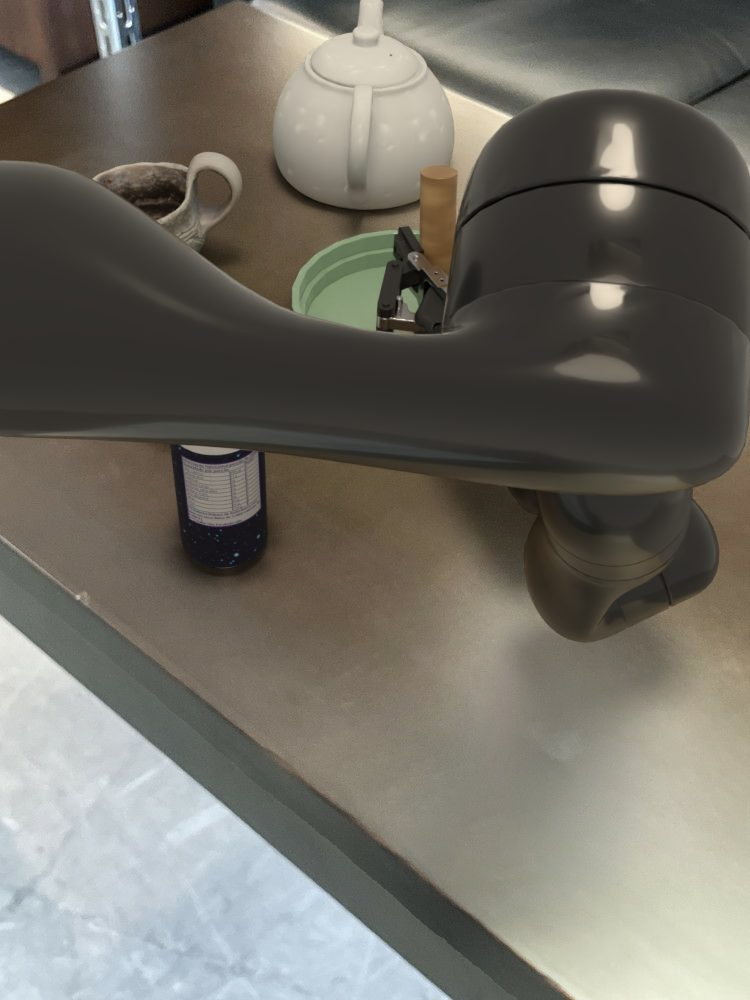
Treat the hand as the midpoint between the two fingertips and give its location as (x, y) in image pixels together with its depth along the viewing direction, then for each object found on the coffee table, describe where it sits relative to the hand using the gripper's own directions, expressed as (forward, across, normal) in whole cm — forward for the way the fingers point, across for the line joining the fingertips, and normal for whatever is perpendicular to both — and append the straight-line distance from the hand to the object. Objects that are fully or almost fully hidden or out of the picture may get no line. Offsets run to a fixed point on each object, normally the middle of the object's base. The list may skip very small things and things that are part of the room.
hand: (422, 234), depth 86 cm
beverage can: (-18, +20, +10) cm, 28 cm away
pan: (0, 0, +10) cm, 10 cm away
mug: (+15, +17, +10) cm, 25 cm away
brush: (-5, 0, +8) cm, 10 cm away
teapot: (+25, -3, +10) cm, 27 cm away
